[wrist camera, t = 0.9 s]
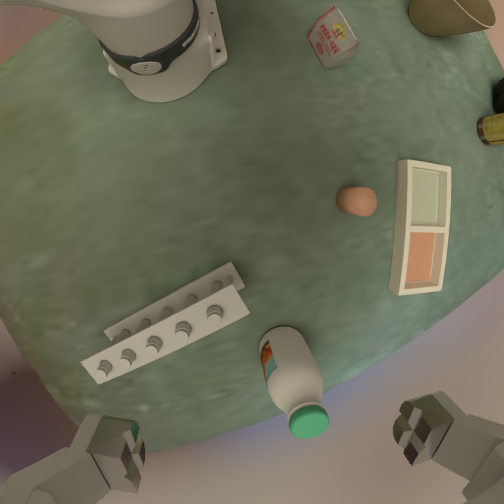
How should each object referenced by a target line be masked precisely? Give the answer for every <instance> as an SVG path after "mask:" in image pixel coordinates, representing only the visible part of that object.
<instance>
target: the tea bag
mask: <svg viewBox="0 0 504 504" xmlns="http://www.w3.org/2000/svg"><path fill="white" fill-rule="evenodd" d="M307 38H308V40H309V41H310V43H311V45H312V47H313V49H314V51H315V53H316V55H317V57H318V59H319V61H320V63H321V65H322V67H323V69H324V70H325V69H330V68H335V67H340V66H344V65H345V64H346V63H347V62H348V61H349V60H350V59H351V58H352V57H353V56H354V55H355V54H356V53H357V47H358V44H359V42H358V40H357V38H356V37H355V35H354V33H353V31H352V29H351V28H350V26H349V24H348V23H347V21H346V19H345V18H344V16H343V14H342V13H341V11H340V9H339V8H338V6H337V7H336V6H334V7H333V8H332V9H330V10H329V11H328V12H327V13H325V14H324V15H322V16H321V17H320V18H318V19H317V20H316V22H315V23H314V25H313V27H312V29H311V30H310V32H309V34H308V35H307Z"/></svg>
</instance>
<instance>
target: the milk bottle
mask: <svg viewBox="0 0 504 504" xmlns="http://www.w3.org/2000/svg"><path fill="white" fill-rule="evenodd" d="M259 353H260V358H261V363H262V368H263V372H264V377H265V381H266V385H267V388H268V392H269V394H270V397H271V399H272V400H273V402H274V403H275V404H276V405H277V406H278V407H279V408H280V409H281V410H282V411H284V412H285V413H286V414H287V415H288V423H289V427H290V430H291V432H292V434H293V435H294V436H295V437H297V438H302V439H308V438H313V437H315V436H318V435H319V434H321V433H322V432H324V431H325V430H326V428H327V427H328V425H329V417H328V414H327V413H326V411H325V408H324V407H323V405H321V398H322V394H323V379H322V375H321V373H320V370H319V368H318V366H317V364H316V362H315V360H314V358H313V356H312V354H311V352H310V350H309V348H308V346H307V344H306V342H305V340H304V338H303V337H302V335H301V334H300V332H298V331H297V330H296V329H294V328H291V327H277V328H274V329H272V330H270V331H269V332H267V333H266V334H265V335H264V336H263V338H262V339H261V341H260V344H259Z"/></svg>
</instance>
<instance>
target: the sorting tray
mask: <svg viewBox="0 0 504 504" xmlns="http://www.w3.org/2000/svg"><path fill="white" fill-rule="evenodd" d="M450 205H451V167H449V166H444V165H438V164H433V163H427V162H421V161H415V160H409V159H406V160H397V161H396V209H395V228H394V242H393V254H392V264H391V273H390V282H389V290H391V291H392V292H394V293H395V294H397V295H408V294H417V293H426V292H435V291H441V289H442V283H443V276H444V270H445V262H446V254H447V245H448V235H449V223H450Z"/></svg>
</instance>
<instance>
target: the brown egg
mask: <svg viewBox="0 0 504 504" xmlns="http://www.w3.org/2000/svg"><path fill="white" fill-rule="evenodd" d="M336 203H337V206H338V207H339V209H340V210H341V211H343V212H346V213H351V214H355V215H360V216H369V215H371V214H372V213H373V212H374V211H375V209H376V206H377V198H376V195H375V193H374V192H373V191H372V190H371V189H369V188H367V187H344V188H342V189H341V190H340V191H339V192H338V194H337V196H336Z"/></svg>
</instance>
